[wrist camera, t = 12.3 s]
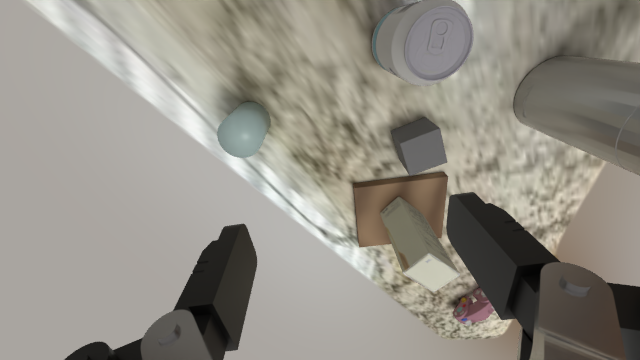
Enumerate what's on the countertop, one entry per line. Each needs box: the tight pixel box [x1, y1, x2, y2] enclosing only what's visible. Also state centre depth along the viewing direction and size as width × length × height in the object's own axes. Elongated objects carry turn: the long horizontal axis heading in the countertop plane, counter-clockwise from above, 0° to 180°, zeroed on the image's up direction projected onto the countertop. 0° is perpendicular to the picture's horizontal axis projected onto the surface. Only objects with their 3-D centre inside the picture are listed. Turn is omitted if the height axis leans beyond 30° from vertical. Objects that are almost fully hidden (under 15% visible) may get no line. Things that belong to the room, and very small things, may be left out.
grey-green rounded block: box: [217, 102, 270, 158], centre depth 34 cm, size 5×5×7 cm
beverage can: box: [372, 0, 473, 86], centre depth 27 cm, size 7×7×12 cm
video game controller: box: [453, 288, 495, 325], centre depth 53 cm, size 10×5×7 cm, turn 140°
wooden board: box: [353, 172, 448, 247], centre depth 44 cm, size 14×12×2 cm
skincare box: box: [380, 197, 460, 292], centre depth 38 cm, size 6×4×12 cm
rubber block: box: [391, 117, 447, 176], centre depth 37 cm, size 5×5×5 cm
